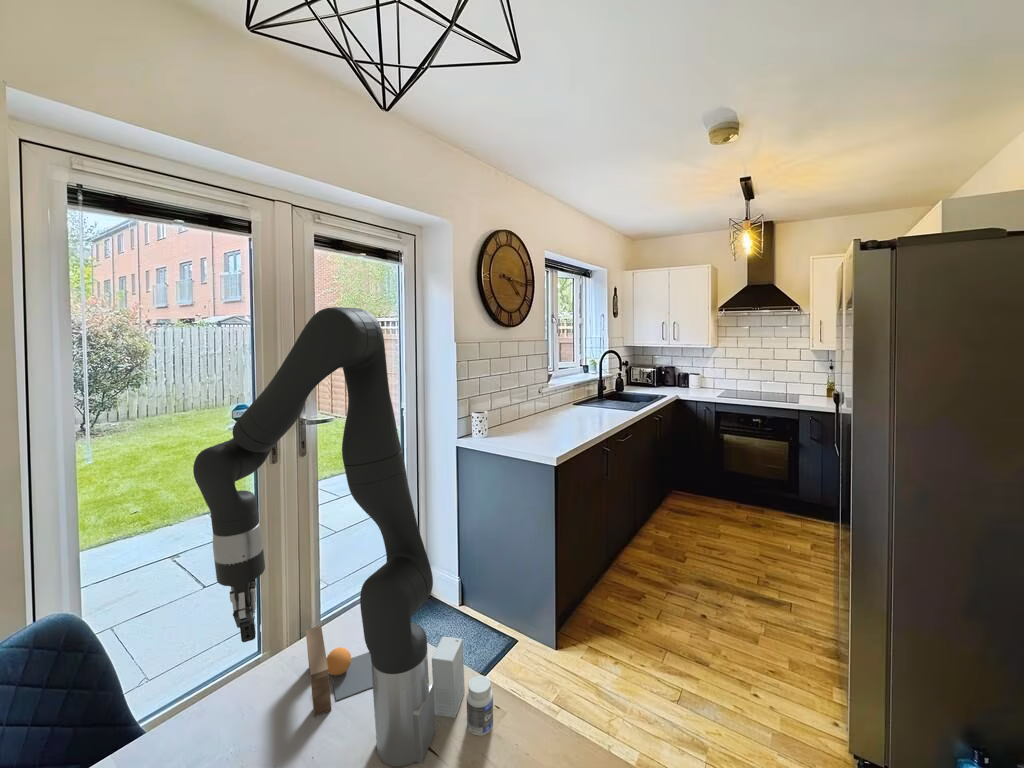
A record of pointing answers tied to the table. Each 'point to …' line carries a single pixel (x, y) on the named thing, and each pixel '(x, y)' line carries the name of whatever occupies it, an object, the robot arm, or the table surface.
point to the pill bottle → (479, 705)
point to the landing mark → (354, 677)
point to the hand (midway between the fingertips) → (248, 638)
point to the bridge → (318, 671)
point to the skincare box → (448, 676)
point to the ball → (338, 661)
